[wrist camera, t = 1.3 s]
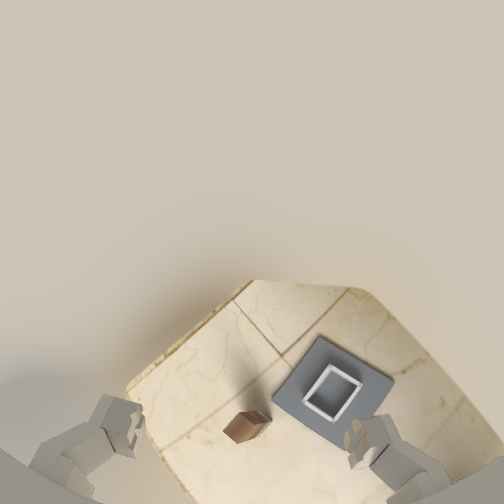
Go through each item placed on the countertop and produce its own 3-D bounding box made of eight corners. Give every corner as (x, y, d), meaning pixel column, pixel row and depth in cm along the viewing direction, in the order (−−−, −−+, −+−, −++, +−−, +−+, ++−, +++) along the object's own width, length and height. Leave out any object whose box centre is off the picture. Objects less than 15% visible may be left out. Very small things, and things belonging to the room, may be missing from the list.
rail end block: (272, 420, 41) (254, 425, 33) (258, 436, 40) (237, 443, 32) (259, 411, 42) (238, 412, 34) (246, 426, 42) (222, 431, 33)
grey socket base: (394, 382, 37) (398, 381, 34) (344, 449, 34) (344, 454, 31) (319, 337, 46) (317, 332, 43) (272, 400, 43) (265, 400, 40)
